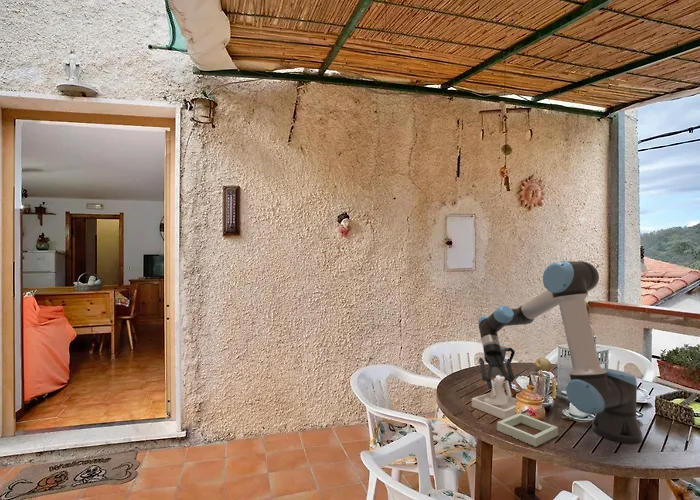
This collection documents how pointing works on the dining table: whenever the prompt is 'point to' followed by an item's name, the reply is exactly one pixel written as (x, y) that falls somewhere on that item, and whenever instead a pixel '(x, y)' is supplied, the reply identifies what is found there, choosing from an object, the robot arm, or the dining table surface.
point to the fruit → (543, 364)
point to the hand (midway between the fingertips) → (502, 396)
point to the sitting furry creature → (498, 393)
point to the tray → (495, 406)
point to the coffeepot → (496, 370)
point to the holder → (535, 440)
